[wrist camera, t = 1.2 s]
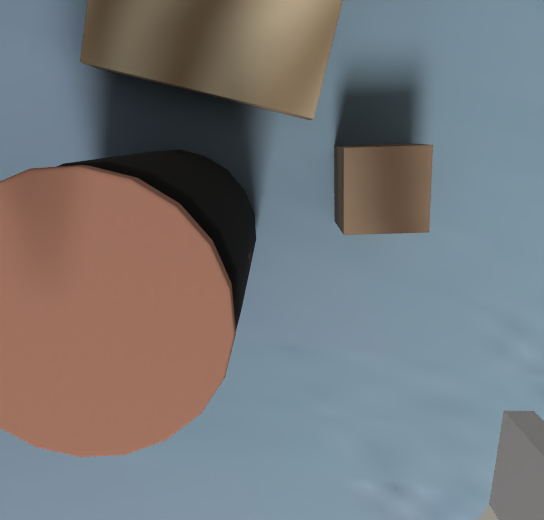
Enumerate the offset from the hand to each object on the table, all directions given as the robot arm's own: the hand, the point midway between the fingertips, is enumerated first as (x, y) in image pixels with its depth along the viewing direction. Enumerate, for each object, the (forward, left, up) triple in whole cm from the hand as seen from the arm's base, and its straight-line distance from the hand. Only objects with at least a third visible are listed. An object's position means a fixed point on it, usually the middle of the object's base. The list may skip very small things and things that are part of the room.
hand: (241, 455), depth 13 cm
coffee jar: (-6, 0, -23) cm, 24 cm away
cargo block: (+6, +6, -23) cm, 25 cm away
